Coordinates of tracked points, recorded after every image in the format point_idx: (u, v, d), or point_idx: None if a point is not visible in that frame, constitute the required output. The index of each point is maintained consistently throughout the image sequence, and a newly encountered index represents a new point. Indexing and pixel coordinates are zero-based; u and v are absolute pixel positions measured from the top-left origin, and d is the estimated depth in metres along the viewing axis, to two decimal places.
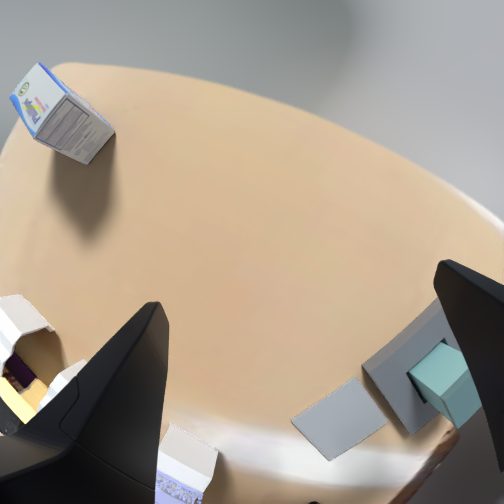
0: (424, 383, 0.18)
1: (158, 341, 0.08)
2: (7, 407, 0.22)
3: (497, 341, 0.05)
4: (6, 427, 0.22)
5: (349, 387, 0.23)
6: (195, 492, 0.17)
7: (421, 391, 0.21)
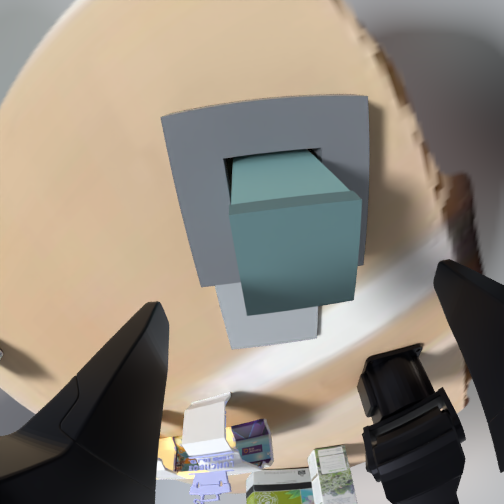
0: None
1: (158, 341, 0.08)
2: None
3: (497, 341, 0.05)
4: None
5: (223, 293, 0.20)
6: (227, 453, 0.22)
7: None
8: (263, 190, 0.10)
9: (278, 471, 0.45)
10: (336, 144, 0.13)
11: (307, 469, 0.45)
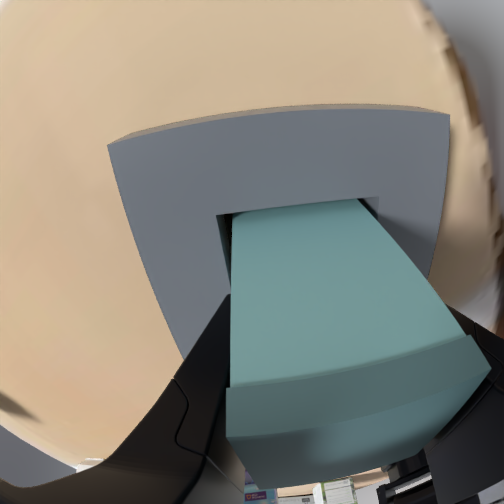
0: None
1: None
2: None
3: None
4: None
5: None
6: None
7: None
8: (297, 328, 0.05)
9: (281, 499, 0.39)
10: (401, 191, 0.08)
11: (311, 496, 0.40)
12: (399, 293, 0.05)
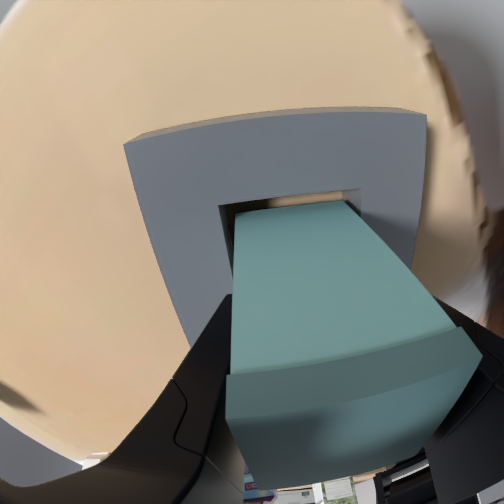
0: None
1: None
2: None
3: None
4: None
5: None
6: None
7: None
8: (294, 323, 0.05)
9: (281, 493, 0.41)
10: (382, 183, 0.09)
11: (311, 490, 0.41)
12: (391, 291, 0.05)
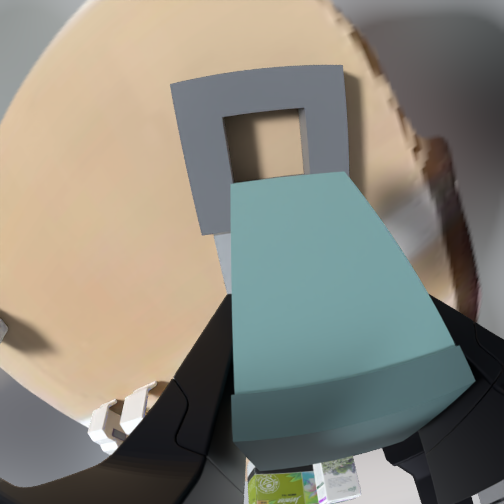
0: None
1: None
2: None
3: None
4: None
5: (222, 246, 0.22)
6: None
7: None
8: (296, 334, 0.05)
9: None
10: (317, 104, 0.15)
11: None
12: (395, 298, 0.05)
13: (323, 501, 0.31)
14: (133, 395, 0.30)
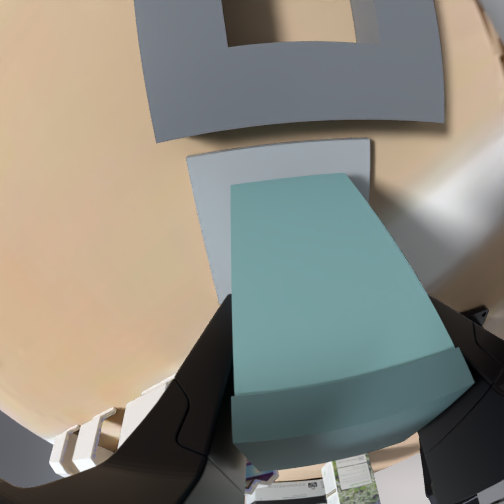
0: None
1: None
2: None
3: None
4: None
5: (203, 181, 0.11)
6: None
7: None
8: (296, 336, 0.05)
9: (284, 484, 0.35)
10: None
11: (319, 481, 0.36)
12: (394, 299, 0.05)
13: None
14: (87, 424, 0.19)
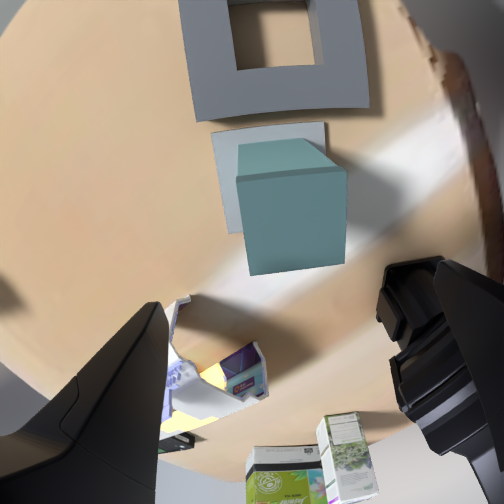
0: None
1: (158, 341, 0.08)
2: None
3: (497, 341, 0.05)
4: (171, 444, 0.37)
5: (220, 148, 0.17)
6: (177, 365, 0.18)
7: None
8: (264, 167, 0.12)
9: (282, 448, 0.42)
10: None
11: (315, 447, 0.42)
12: (311, 159, 0.12)
13: (334, 502, 0.26)
14: None
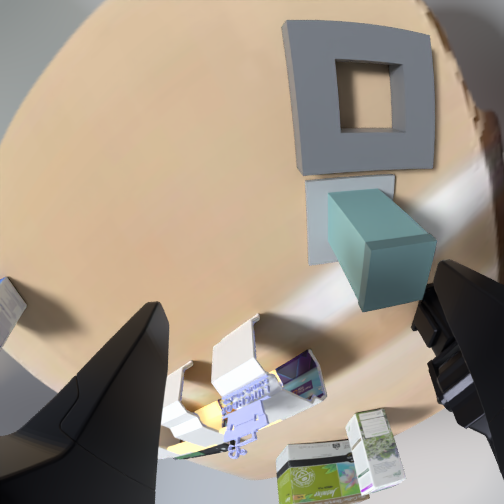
0: (346, 274, 0.18)
1: (158, 341, 0.08)
2: None
3: (497, 341, 0.05)
4: (213, 447, 0.40)
5: (313, 194, 0.20)
6: (262, 378, 0.21)
7: None
8: (377, 230, 0.15)
9: (313, 445, 0.45)
10: (412, 64, 0.14)
11: (341, 442, 0.46)
12: (405, 223, 0.15)
13: (368, 489, 0.29)
14: (167, 379, 0.29)
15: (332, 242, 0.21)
